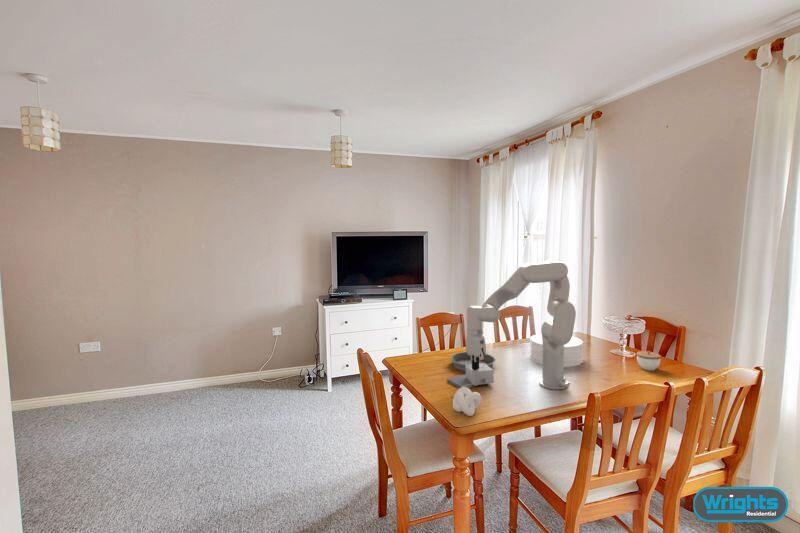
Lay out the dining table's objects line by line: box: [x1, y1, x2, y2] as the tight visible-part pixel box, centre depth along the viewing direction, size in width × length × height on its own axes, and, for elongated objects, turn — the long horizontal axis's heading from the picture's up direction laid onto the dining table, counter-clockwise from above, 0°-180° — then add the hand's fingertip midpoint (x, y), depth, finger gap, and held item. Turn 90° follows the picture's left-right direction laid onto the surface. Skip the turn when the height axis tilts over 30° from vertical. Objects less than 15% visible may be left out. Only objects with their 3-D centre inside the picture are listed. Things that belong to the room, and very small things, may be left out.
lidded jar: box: [636, 350, 662, 371], centre depth 201 cm, size 11×11×9 cm
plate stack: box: [529, 333, 584, 368], centre depth 220 cm, size 28×28×12 cm
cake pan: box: [450, 351, 496, 372], centre depth 212 cm, size 25×25×4 cm
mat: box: [446, 373, 478, 389], centre depth 188 cm, size 12×14×1 cm
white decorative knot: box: [452, 387, 482, 417], centre depth 157 cm, size 11×12×9 cm
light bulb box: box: [465, 362, 495, 386], centre depth 186 cm, size 11×7×11 cm
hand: (475, 369), depth 183 cm, fingers closed
